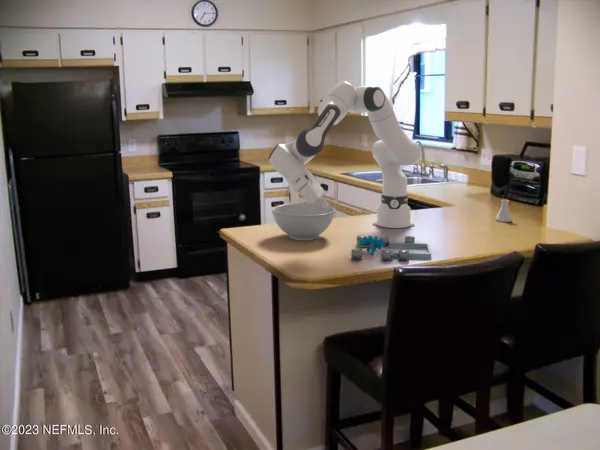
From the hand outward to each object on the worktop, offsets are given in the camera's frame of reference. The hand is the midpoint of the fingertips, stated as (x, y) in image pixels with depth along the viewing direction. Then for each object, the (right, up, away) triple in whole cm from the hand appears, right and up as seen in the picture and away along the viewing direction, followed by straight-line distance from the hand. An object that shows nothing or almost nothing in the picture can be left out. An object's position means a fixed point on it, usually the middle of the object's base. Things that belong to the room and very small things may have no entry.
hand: (327, 206), depth 236 cm
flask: (+86, -5, +58) cm, 104 cm away
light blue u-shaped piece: (+31, -18, +1) cm, 36 cm away
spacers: (+22, -18, +2) cm, 28 cm away
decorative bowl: (-9, -12, +26) cm, 30 cm away
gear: (+17, -18, +2) cm, 25 cm away
